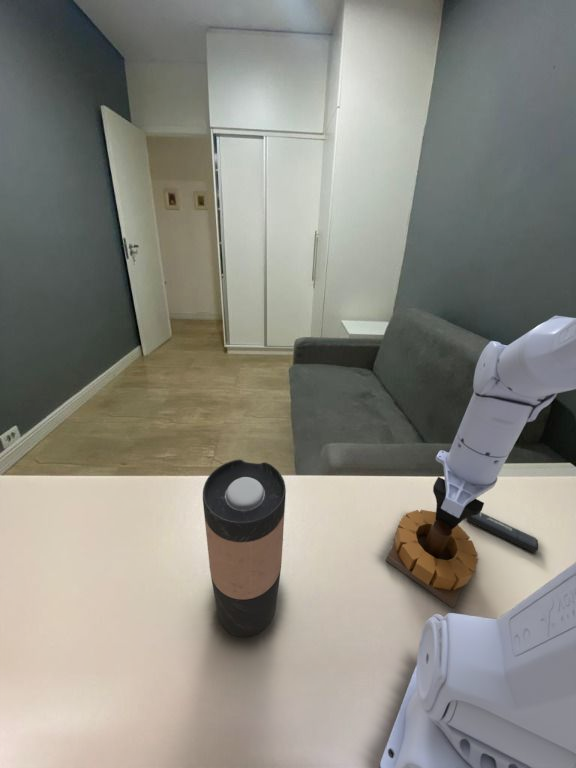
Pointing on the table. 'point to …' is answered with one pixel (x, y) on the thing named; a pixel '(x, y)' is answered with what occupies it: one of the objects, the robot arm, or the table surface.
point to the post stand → (434, 547)
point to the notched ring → (428, 566)
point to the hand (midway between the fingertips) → (448, 515)
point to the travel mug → (245, 542)
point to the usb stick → (505, 531)
